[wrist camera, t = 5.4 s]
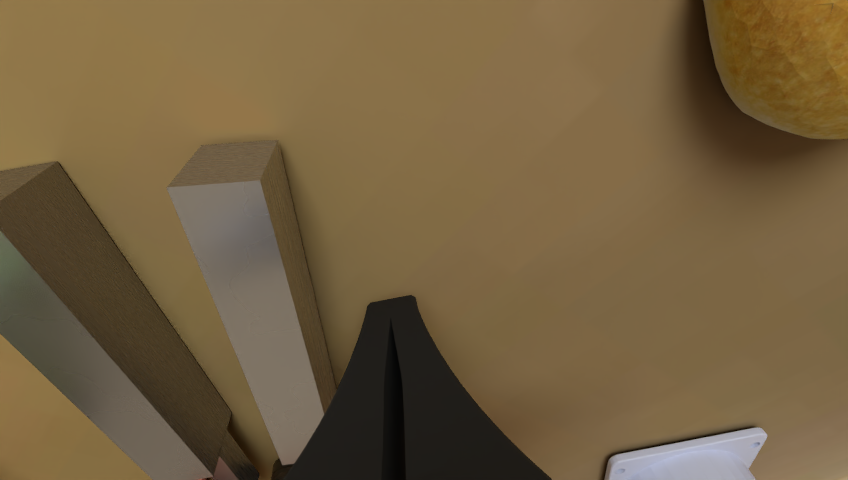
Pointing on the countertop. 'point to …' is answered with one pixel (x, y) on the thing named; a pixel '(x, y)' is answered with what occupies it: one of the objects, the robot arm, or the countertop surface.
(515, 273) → the countertop surface
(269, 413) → the bar
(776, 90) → the bread roll
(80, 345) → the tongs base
